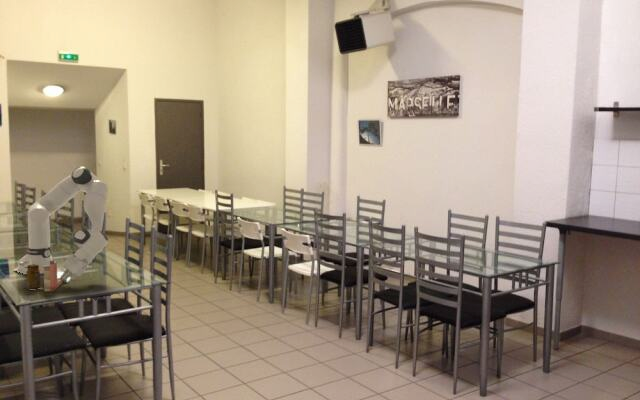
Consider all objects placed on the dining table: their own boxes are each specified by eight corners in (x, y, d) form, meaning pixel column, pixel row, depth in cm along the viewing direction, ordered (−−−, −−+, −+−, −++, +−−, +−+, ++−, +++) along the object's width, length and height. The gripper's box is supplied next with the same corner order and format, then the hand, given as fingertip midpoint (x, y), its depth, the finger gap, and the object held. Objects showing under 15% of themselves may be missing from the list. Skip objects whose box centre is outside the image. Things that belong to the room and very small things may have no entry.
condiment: (38, 285, 300) (37, 263, 299) (44, 288, 294) (44, 266, 293) (23, 288, 295) (22, 265, 293) (29, 291, 289) (29, 268, 288)
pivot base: (54, 282, 306) (54, 277, 306) (61, 280, 310) (61, 275, 310) (61, 284, 304) (61, 278, 304) (68, 281, 309) (68, 276, 308)
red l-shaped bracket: (58, 283, 304) (57, 254, 302) (62, 283, 304) (61, 254, 303) (50, 291, 288) (49, 261, 287) (54, 291, 289) (53, 261, 287)
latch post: (45, 289, 293) (44, 264, 292) (53, 289, 294) (52, 264, 292) (43, 291, 290) (42, 266, 288) (51, 291, 290) (50, 266, 289)
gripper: (93, 265, 294) (73, 287, 289) (80, 257, 309) (61, 277, 304) (84, 258, 290) (64, 279, 285) (72, 250, 306) (52, 270, 301)
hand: (63, 278), depth 295 cm, fingers closed
